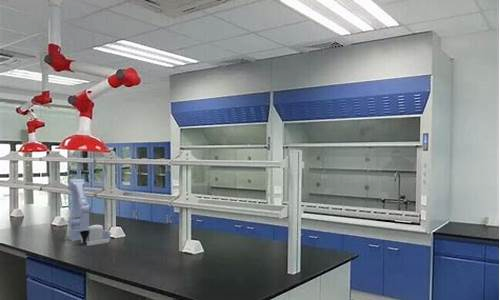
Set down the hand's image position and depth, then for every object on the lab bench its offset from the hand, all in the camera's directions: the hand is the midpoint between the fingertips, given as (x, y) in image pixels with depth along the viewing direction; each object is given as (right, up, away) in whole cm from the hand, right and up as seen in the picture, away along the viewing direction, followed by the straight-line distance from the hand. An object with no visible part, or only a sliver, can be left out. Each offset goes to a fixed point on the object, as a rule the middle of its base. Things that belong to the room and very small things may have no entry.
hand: (84, 242), depth 264 cm
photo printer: (+6, -2, +5) cm, 8 cm away
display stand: (+5, -2, +5) cm, 8 cm away
